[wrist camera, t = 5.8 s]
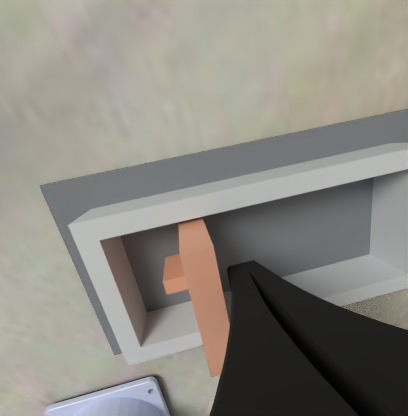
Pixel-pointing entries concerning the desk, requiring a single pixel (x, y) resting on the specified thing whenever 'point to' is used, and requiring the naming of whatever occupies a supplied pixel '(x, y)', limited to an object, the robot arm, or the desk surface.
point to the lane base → (241, 225)
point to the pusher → (200, 288)
